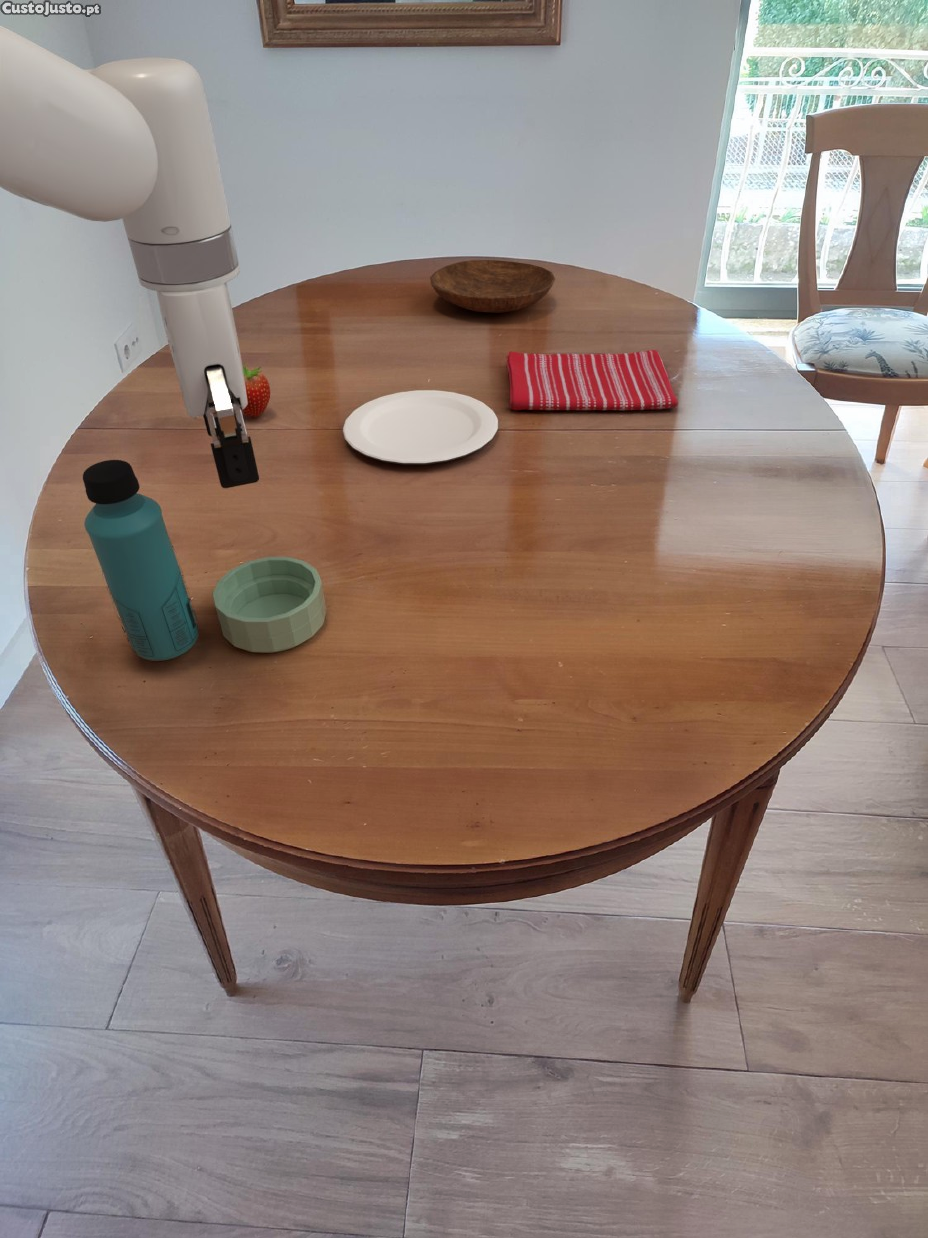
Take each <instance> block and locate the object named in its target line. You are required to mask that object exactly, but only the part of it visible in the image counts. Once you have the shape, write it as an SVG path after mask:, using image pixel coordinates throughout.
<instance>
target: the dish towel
mask: <svg viewBox="0 0 928 1238" xmlns="http://www.w3.org/2000/svg"><path fill="white" fill-rule="evenodd" d="M506 369H507V372H508V375H509V376H508V377H509V378H508V379H509V389H510V391H509V409H510V410H513V411H522V410H523V411H524V410H529V411H596V410H597V411H633V410H634V411H636V410H637V411H644V410H665V409H674V408H677V406H678V405H679V400H678V399H677V397H676V395H675V392H674V389H673V387H672V384H671V381H670V378H669V376H668V373H667V370H666V368H665V366H664V362H663V360H662V357H661V355H660V353H659V352H658V350H657V349H648V350H641V351H634V352H632V353H628V352H624V353H597V354H594V353H589V354H587V353H581V354H579V353H553V354H544V353H526V352H523V353H521V352H518V351H513V350H510V351H508V355H507V356H506Z"/></svg>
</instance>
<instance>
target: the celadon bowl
mask: <svg viewBox="0 0 928 1238" xmlns="http://www.w3.org/2000/svg"><path fill="white" fill-rule="evenodd" d="M324 593H325V592H324V588H323V582H322V578H321V577H320V574H319V572H318V570H317V568H315V567H314V566H313V565H311V564H310V563H308V562H307V561H305V560H301V559H297V558H294V557H290V556H266V557H265V556H264V557H261V558H255V559H252V560H247V561H246V562H244V563H242V564H239V565H238V566H235V567H233V568H231V569H230V570H228V571H227V572H226V573H225V574H224V575H223V576H222V577H221V578H219V579H218V580H217V582H216V584H215V587H214V590H213V592H212V599H213V603H214V604H213V605H214V608H215V611H216V615H217V619H218V622H219V625H220V629H221V632H222V636H223V638H225V639H226V641H228V642H229V643H230V644H231V645H232V646H234V647H235V648H238V649H242V650H244V651H248V652H250V653H261V654H262V653H263V654H270V653H271V654H272V653H279V652H284V651H287V650H291V649H293V648H295V647H298V646H299V645H301V644H303V643H305V642H306V641H307V640H309V639H311V638H312V637H314V635H315V634H316V633H318V631H319V630H320V629H321V627H323V625H324V623H325V619H326V614H327V605H326V599H325V595H324Z"/></svg>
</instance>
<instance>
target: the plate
mask: <svg viewBox="0 0 928 1238" xmlns="http://www.w3.org/2000/svg"><path fill="white" fill-rule="evenodd" d="M498 431H499V419H498V417H497V414H496V413H495V411H494V410H493V409H492V408H490V407H489V406H488V405H487V404H485V403H484V402H483V401H480V400H479V399H476V398H473V397H471V396H470V395H465V394H461V393H458V392H454V391H446V390H437V389H436V390H435V389H429V390H426V389H425V390H424V389H419V390H417V389H416V390H409V391H400V392H395V393H391V394H387V395H383V396H379V397H378V398H375V399H372V400H370V401H368V402H365V403H363V404H362V405H361V406H359V407H357V408H356V409H354V410H353V411H352V412H351V413H350V415H348V417H346V419H345V421H344V424H343V427H342V432H343V436H344V440H345V442H346V443H347V444H348V445H349V446H350V447H351V448H352V449H353V450H354V451H357V452H358V453H360V454H361V455H364V456H365V457H366V458H370V459H373V460H376V461H380V462H383V463H389V464H396V465H402V466H403V465H404V466H408V465H409V466H410V465H412V466H413V465H414V466H418V465H420V466H421V465H423V466H424V465H426V466H427V465H433V464H441V463H447V462H452V461H454V460H458V459H462V458H464V457H467V456H469V455H471V454H473V453H475V452H477V451H479V450H481V449H483V448H484V447H485V446H486V445H488V444H489V443H490V442H491V441H492V440H493V439H494V438H495V436H496V434H497V432H498Z"/></svg>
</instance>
